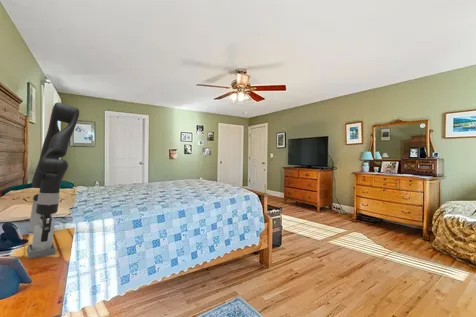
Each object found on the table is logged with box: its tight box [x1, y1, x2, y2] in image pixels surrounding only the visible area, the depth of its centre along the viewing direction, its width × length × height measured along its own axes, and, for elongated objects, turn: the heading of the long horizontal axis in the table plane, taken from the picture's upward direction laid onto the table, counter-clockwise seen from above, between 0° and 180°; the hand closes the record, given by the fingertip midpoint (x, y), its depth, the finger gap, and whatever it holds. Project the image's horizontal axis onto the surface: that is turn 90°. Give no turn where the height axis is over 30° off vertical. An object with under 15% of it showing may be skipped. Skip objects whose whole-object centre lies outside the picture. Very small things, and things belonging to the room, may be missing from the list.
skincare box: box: [31, 224, 55, 252], centre depth 101 cm, size 6×4×12 cm
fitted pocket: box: [26, 241, 57, 259], centre depth 101 cm, size 10×9×2 cm
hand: (42, 238), depth 101 cm, fingers open, 8 cm apart
